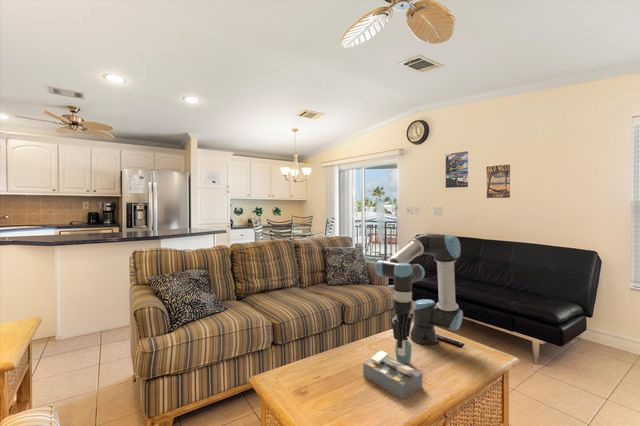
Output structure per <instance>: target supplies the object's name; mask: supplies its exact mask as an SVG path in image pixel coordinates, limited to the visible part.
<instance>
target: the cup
mask: <svg viewBox="0 0 640 426" xmlns="http://www.w3.org/2000/svg"><path fill="white" fill-rule="evenodd" d="M397 345H398V340H396V341H395V358H396V359H395V360H396V361H398V362H400V363H402V364H404V365H408V364H409V363H410V362H411V360H412V346H413V345H412V342H410V341H409V340H406V345H405V356H401V355H399V354H398V346H397Z"/></svg>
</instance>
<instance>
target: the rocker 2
mask: <svg viewBox="0 0 640 426" xmlns="http://www.w3.org/2000/svg"><path fill="white" fill-rule="evenodd" d="M396 361H397V360H396ZM396 361H393V360H389V359H385V362H386V363H388V364H390V365H392V366H396V367H397V366H401V364H400V363H398V362H396Z"/></svg>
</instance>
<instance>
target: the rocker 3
mask: <svg viewBox="0 0 640 426" xmlns="http://www.w3.org/2000/svg"><path fill="white" fill-rule="evenodd" d="M397 370H398V371H400V372H402V373H404V374H408V373H414V370H415V369H414V368H412V367H410V366H409V365H406V366H397Z"/></svg>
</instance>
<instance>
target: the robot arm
mask: <svg viewBox="0 0 640 426" xmlns="http://www.w3.org/2000/svg"><path fill="white" fill-rule="evenodd" d="M461 248H462V247H461V243H460V239H459V238H458V237H457V236H456V235H450V234H440V233H424V234H420V235H418V236H415V237H412V239H410V240H409V241H408V242H407V245H405V246H403V247H402V248H401V249H400V250H398V251H397V252H396V253H394V254H393V255H391V256H390V257H389V258H388V259H386V260H383V259H382V260H377V261H376V262H375V265H374V271H375V274H376V275H377V276H379V277H383V278H390V279H393V304H392V307H393V309H394V317H392V318H390V322H391V325H392V333H393V338H394V340H396V341H397V340H398V345H397V346H398V354H399V355H401V356H405V345H406V340H407V341H409V338H410V340H411V341H412V342H414V343H417V344H419V345H424V346H430V345H435V344H437V342H438V336H437V333H436V332H437V331H436V329H435V326H437V327H439V328H444V329H446V330H447V329H448V330H451V331H455V332H456V331H458V330H459V329H460V327H461V324H462V322H463V317H464V312H463V310H462V309H460V307H459V306H460V305H459V304H458V303H456V282H455V262H456V261H457V260H458V258H460V256H461ZM422 255H431V256H433V260H434V262H436V267H437V268H436V269H437V285H438V286H437V289H438V302H435V300H433V299H418V300H416V301H415V302H414V303H413V302H412V299H413V284H414V283H416V282H419V281H421V280H422V279H424V277H425V275H426V272H425V269H424V267H423V266H422V265H421V264H419V263H413V264H411V263H410V262H411V261H413V260H414V259H415V258H416V257H418V256H419V257H420V256H422ZM412 303H413V304H414V305H413V304H412ZM412 306H413V313H411V311H412ZM412 320H413V326H412ZM411 326H412V327H411Z"/></svg>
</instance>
